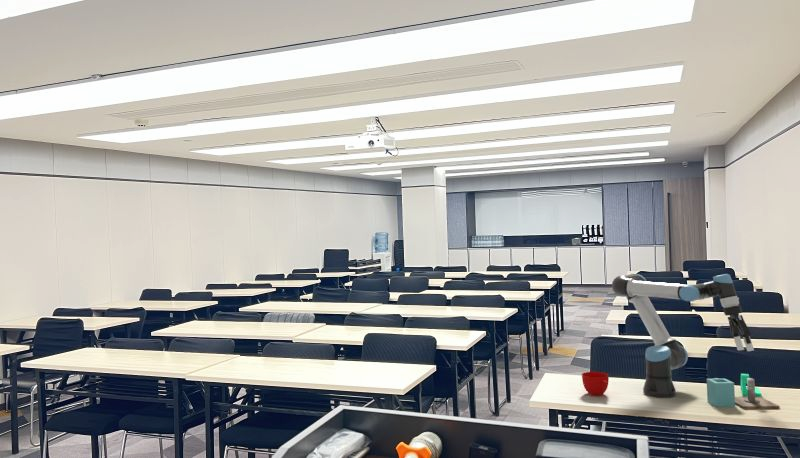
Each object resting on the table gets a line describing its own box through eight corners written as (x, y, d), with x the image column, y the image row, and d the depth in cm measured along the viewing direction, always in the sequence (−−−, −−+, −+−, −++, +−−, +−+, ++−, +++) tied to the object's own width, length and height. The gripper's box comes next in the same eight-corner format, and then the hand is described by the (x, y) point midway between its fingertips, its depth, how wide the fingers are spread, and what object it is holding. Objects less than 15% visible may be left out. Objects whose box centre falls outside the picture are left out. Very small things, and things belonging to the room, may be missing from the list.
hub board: (743, 409, 259) (742, 383, 259) (725, 399, 274) (724, 375, 275) (779, 408, 258) (778, 383, 258) (759, 398, 274) (758, 374, 274)
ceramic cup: (595, 400, 278) (594, 380, 279) (577, 392, 295) (577, 372, 295) (619, 398, 281) (618, 378, 281) (600, 389, 298) (599, 370, 298)
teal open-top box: (716, 406, 263) (715, 382, 263) (707, 401, 271) (706, 378, 272) (735, 406, 262) (734, 382, 263) (725, 401, 271) (724, 377, 271)
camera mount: (761, 399, 274) (760, 377, 274) (743, 397, 277) (742, 376, 277) (758, 392, 284) (757, 372, 285) (740, 391, 288) (739, 371, 288)
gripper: (748, 303, 259) (764, 349, 254) (731, 305, 283) (745, 348, 278) (731, 306, 261) (746, 352, 256) (715, 308, 284) (729, 351, 279)
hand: (745, 350), depth 267 cm, fingers open, 13 cm apart
